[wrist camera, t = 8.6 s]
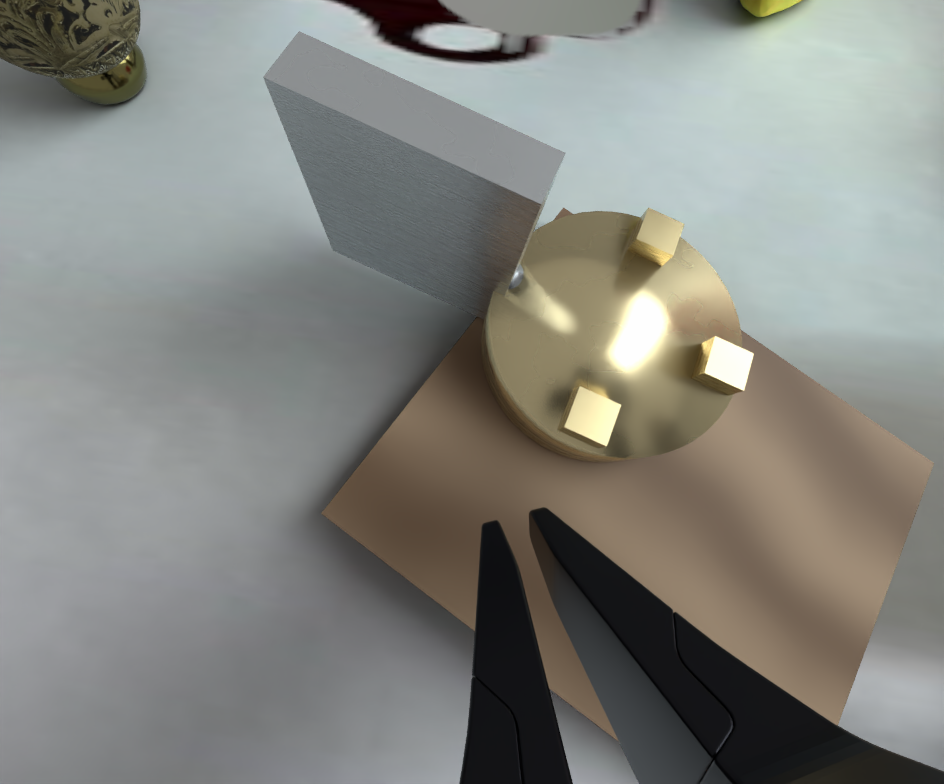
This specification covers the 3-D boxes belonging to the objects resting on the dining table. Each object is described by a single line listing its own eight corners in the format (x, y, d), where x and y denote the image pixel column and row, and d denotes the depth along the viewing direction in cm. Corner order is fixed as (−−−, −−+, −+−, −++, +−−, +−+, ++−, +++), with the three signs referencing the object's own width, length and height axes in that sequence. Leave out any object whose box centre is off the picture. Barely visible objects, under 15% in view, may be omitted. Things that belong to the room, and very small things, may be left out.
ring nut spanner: (722, 302, 17) (909, 184, 11) (662, 501, 15) (851, 512, 8) (393, 152, 17) (371, -62, 11) (284, 328, 15) (167, 200, 8)
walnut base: (748, 830, 15) (784, 869, 13) (331, 511, 16) (321, 513, 14) (894, 465, 18) (933, 463, 17) (553, 228, 19) (563, 207, 18)
